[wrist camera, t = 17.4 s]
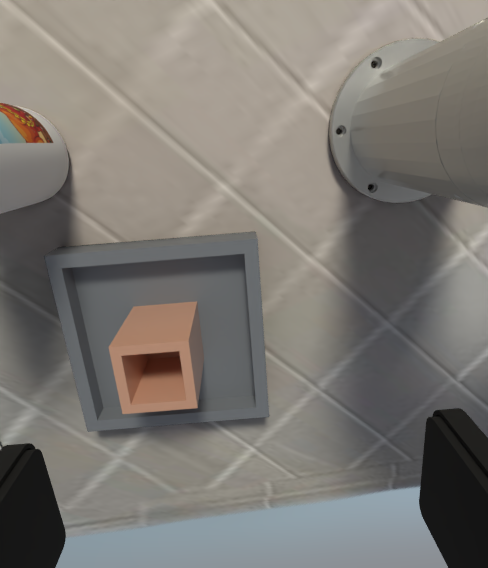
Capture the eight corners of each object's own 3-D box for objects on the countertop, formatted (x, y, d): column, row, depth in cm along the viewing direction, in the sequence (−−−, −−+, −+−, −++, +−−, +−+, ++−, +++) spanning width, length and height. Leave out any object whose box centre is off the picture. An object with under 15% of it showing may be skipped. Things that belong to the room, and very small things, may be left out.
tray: (255, 231, 36) (257, 238, 34) (266, 398, 42) (269, 416, 40) (58, 247, 36) (43, 256, 34) (97, 412, 42) (87, 431, 39)
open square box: (197, 301, 37) (188, 340, 30) (204, 357, 39) (197, 408, 32) (133, 306, 37) (108, 347, 30) (143, 362, 39) (122, 414, 32)
